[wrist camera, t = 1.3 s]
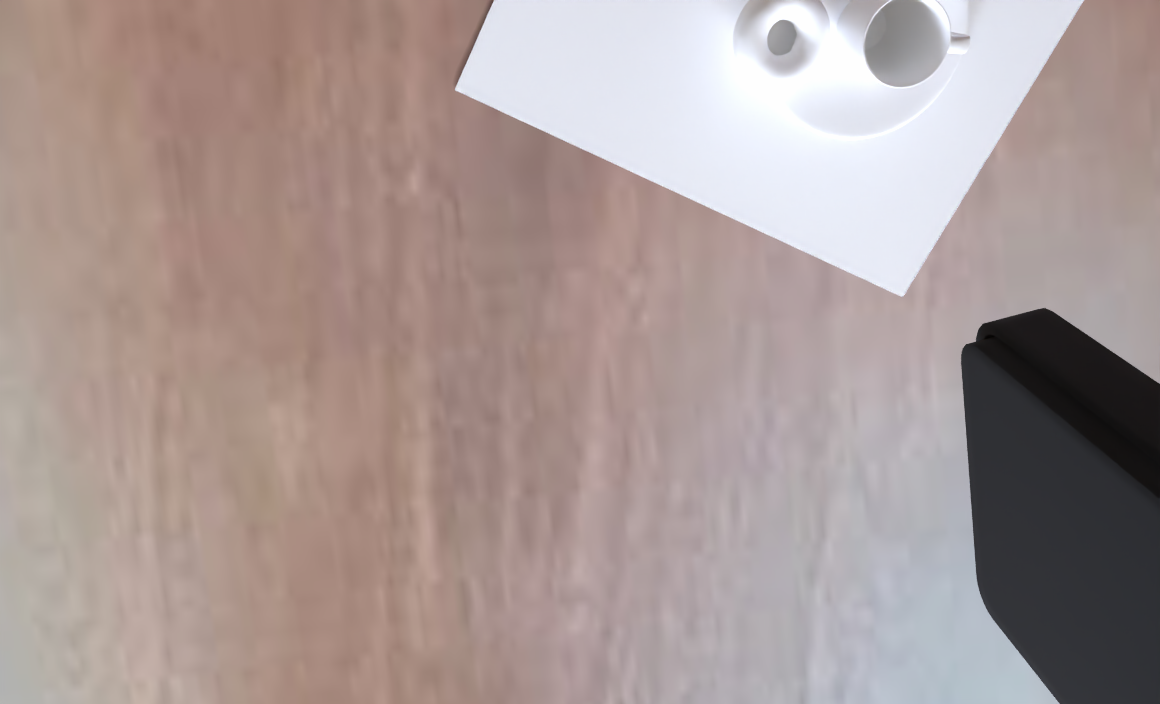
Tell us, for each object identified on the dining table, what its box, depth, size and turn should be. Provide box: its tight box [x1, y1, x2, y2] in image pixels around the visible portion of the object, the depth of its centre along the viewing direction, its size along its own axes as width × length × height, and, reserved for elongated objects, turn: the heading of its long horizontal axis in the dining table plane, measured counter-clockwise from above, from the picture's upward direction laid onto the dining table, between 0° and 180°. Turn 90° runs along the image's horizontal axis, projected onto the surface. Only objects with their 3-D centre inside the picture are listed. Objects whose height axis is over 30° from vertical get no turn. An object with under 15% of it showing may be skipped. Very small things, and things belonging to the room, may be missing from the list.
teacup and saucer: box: [732, 0, 972, 140], centre depth 38 cm, size 9×8×4 cm
